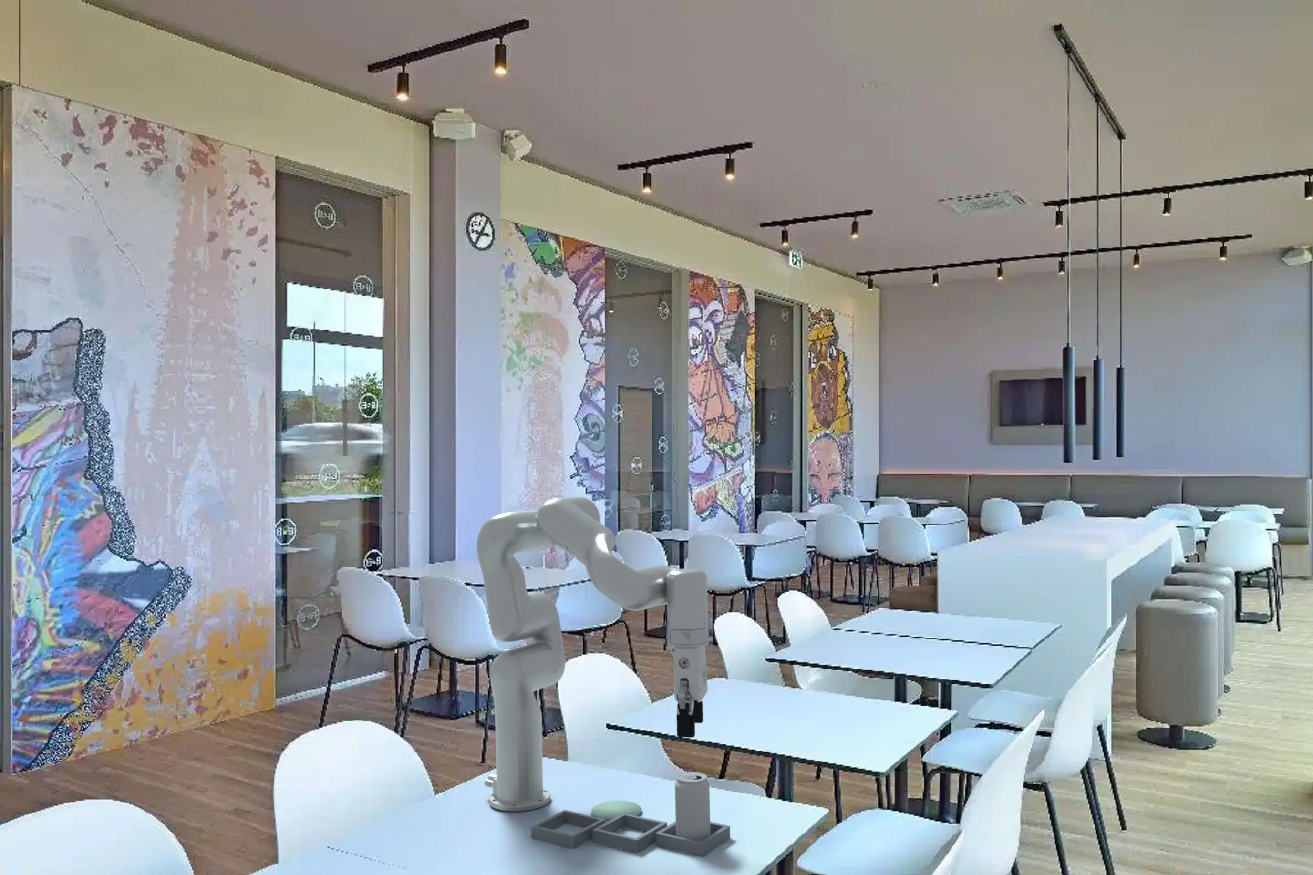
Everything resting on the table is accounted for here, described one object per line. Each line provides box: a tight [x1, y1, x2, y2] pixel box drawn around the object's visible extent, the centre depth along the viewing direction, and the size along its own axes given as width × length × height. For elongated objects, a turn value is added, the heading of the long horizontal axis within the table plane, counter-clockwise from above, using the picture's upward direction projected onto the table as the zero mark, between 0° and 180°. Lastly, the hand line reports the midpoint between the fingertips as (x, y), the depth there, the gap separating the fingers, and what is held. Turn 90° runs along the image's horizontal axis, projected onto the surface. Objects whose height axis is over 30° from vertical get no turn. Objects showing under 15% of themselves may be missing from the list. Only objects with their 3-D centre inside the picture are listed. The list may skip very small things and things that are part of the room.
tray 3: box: [655, 820, 731, 857], centre depth 183 cm, size 10×10×2 cm
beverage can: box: [674, 771, 711, 842], centre depth 183 cm, size 6×6×12 cm
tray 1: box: [530, 809, 607, 850], centre depth 187 cm, size 10×10×2 cm
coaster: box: [590, 800, 642, 822], centre depth 198 cm, size 10×10×1 cm
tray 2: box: [592, 813, 668, 853], centre depth 185 cm, size 10×10×2 cm
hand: (690, 729), depth 183 cm, fingers open, 9 cm apart
